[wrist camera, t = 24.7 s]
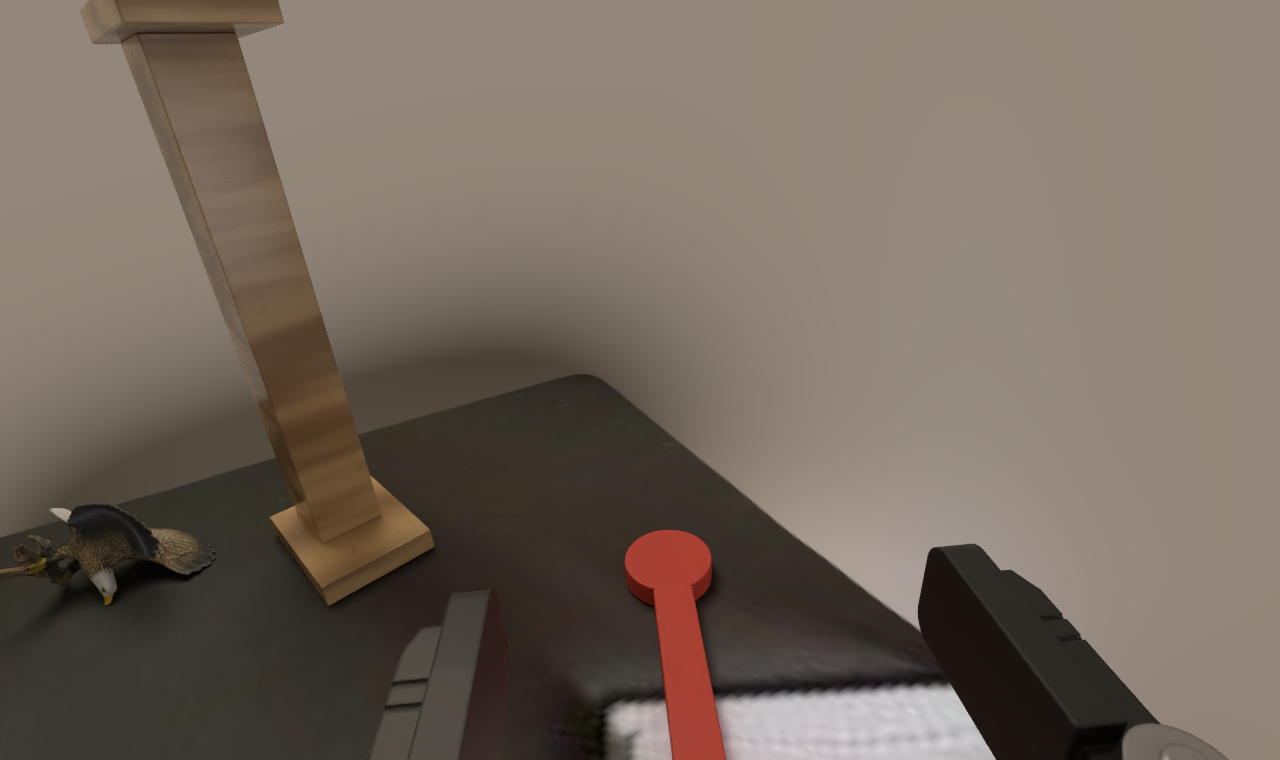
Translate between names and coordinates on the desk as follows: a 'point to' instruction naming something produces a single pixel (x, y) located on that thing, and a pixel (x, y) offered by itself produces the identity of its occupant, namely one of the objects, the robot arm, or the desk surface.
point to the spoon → (679, 635)
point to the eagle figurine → (108, 548)
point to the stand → (260, 278)
